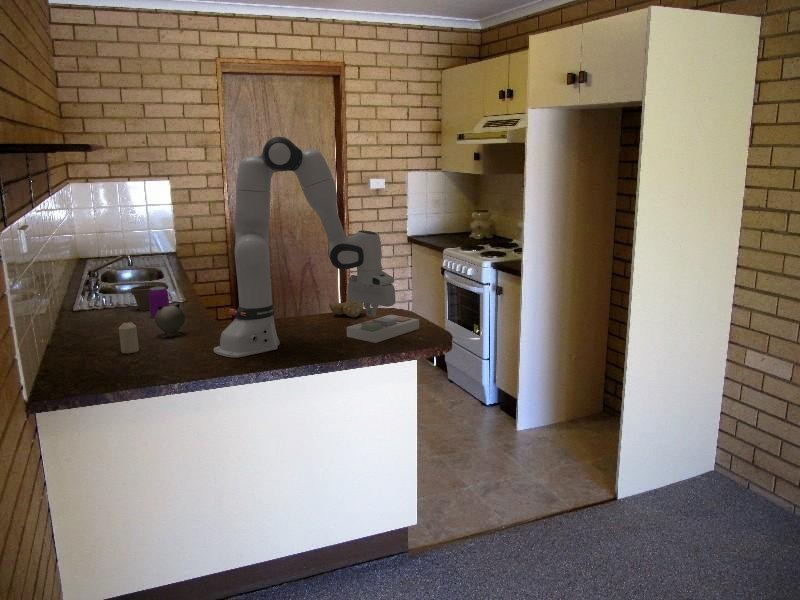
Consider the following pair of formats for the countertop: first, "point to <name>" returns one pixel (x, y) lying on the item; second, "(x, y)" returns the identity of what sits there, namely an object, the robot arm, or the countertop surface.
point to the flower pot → (142, 296)
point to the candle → (128, 338)
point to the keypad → (382, 330)
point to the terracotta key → (401, 319)
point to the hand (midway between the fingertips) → (371, 315)
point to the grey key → (386, 322)
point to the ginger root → (347, 308)
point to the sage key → (371, 326)
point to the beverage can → (157, 299)
